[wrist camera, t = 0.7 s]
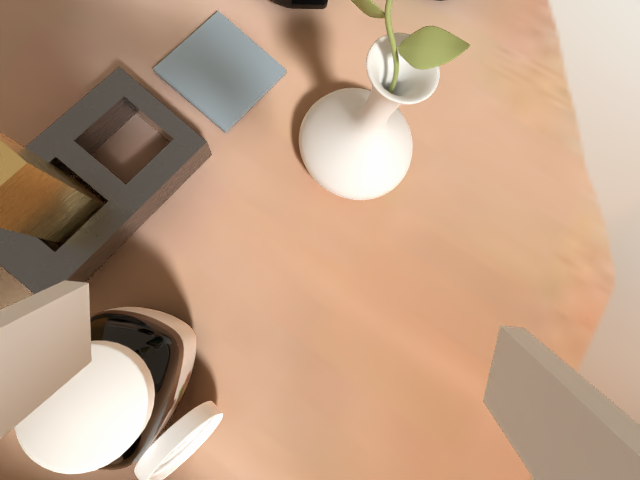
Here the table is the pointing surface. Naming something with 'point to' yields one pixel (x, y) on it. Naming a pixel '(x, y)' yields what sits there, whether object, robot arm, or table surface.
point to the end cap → (302, 4)
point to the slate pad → (220, 71)
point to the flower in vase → (375, 112)
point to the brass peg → (41, 196)
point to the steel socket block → (103, 181)
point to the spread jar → (123, 401)
